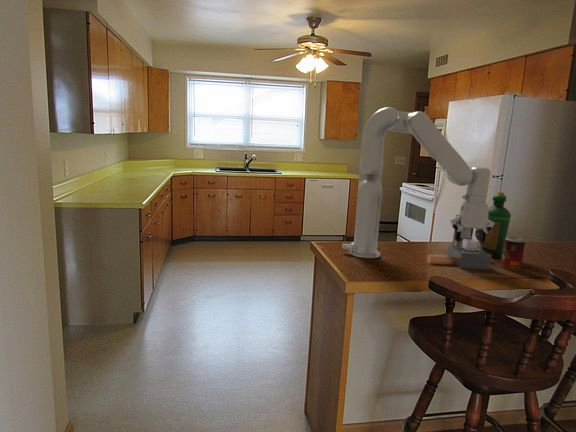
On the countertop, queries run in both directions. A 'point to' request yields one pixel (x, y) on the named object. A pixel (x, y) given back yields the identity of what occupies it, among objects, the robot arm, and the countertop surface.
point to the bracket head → (462, 258)
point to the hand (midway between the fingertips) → (469, 241)
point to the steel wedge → (469, 245)
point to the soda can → (513, 253)
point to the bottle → (497, 226)
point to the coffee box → (462, 235)
